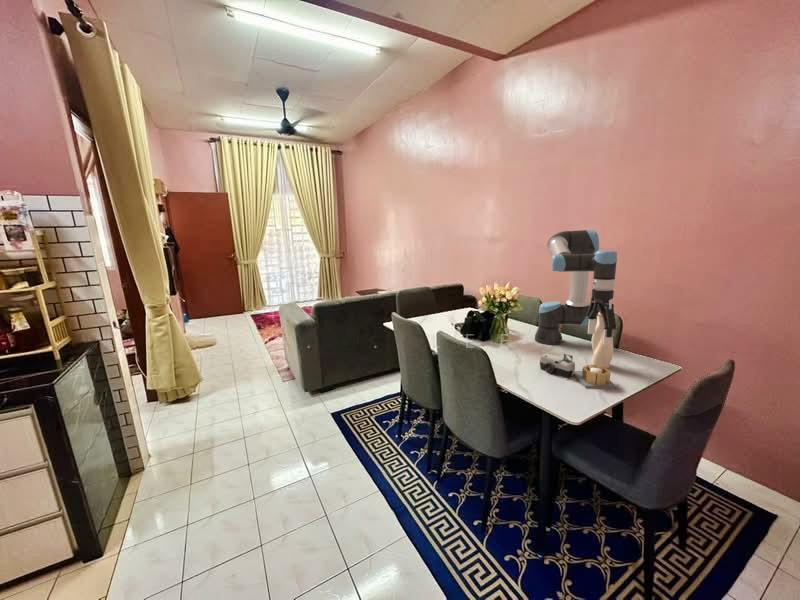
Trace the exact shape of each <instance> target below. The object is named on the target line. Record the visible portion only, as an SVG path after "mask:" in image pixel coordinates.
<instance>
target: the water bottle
mask: <svg viewBox="0 0 800 600" xmlns="http://www.w3.org/2000/svg"><path fill="white" fill-rule="evenodd" d="M596 318H597V319H596V328H595V334H592V336H591V346H592V352H593V354H592V358H591V362H590V363H591V364H590V365H596V366H601V367H604V368H607V369H608V368H610V367H611V361H612V359H613V357H614V340H613V338H614V337H612V338H611V345H603V335H604V328H605V324H604V321H603V317H602V314H600V312H599V313H598V315H597V316H596Z"/></svg>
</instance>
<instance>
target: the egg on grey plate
mask: <svg viewBox="0 0 800 600" xmlns="http://www.w3.org/2000/svg"><path fill="white" fill-rule="evenodd" d="M590 372H594V373H602V370H601V369H599V368H590ZM573 377H575V379H576V380H577V381H578V382H579V383H580V384H581V385H582V386H583V387H584V389H617V385H616V384H614V382H612V381H611V380H610V383H609V384H608V385H605V386H596V385H592V384H589V383H586V382H585V381H584V380H583V379H582V370H575V371H574V375H573Z"/></svg>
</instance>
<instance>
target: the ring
mask: <svg viewBox="0 0 800 600" xmlns="http://www.w3.org/2000/svg"><path fill="white" fill-rule="evenodd" d="M590 368H599V369H601V370H602V373H594V372H590ZM581 371H582V379H583V380H584V381H585V382H586V383H589V384H592V385H596V386H605V385H608V384H609V383H610V381H611V373H612V372H611V371H610V370H609V369H608V368H604V367H601V366H596V365H592V364H587V365H584V366H583V367H582V369H581Z"/></svg>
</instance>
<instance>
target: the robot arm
mask: <svg viewBox="0 0 800 600" xmlns="http://www.w3.org/2000/svg"><path fill="white" fill-rule="evenodd" d="M546 246H547V250H548V251H549V253H551V254H552V256H551V262H550V264H551V265H550V267H551V271H553V272H560V273H562V272H565V273H566V272H567V273H568V272H570V282H569V283H570V285H569V293H568V294H569V295H568V299H567V300H566V301H565V303H564V304H563V303H562V302H560V301H555V300H554V301H545V302H543V303H541V304H540V305H539V310H538V326H537V327H538V328H537V330H536V332H535V334H534V340H535V341H536V342H537V343H540V344H545V345H560V344H562V343H563V336H562V332H561V325H562V326H563V325H565V326H587V327H588V328H587V334H588V335H593V334H595V328H596V325H597V315H598V313H599V312H600V314H602V317H603V321H604V324H605V328H604V335H603V345H611V338H613V331H614V330H617V324H616V317H615V309H614V307H615V304H614V303H610V300H613V299H614V293H615V291H614V289H615V286H616V285H615V283H616V272H617V262H618V252H617V251H616V250H607V249H606V250H603V249H602V250H600V239H599V234H598V233H597V231H596V230H590V229H585V230H584V229H582V230H564V231H560V232H557V233H556V234H553V235H552V236H551V237H550V238H549V239H548V241H547V245H546ZM590 272H593V277H592V281H591V283H592V290H591V297H590V303H589V302H588V301H587V294H588V286H589V285H588V284H589V277H590V276H589V275H590Z"/></svg>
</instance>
